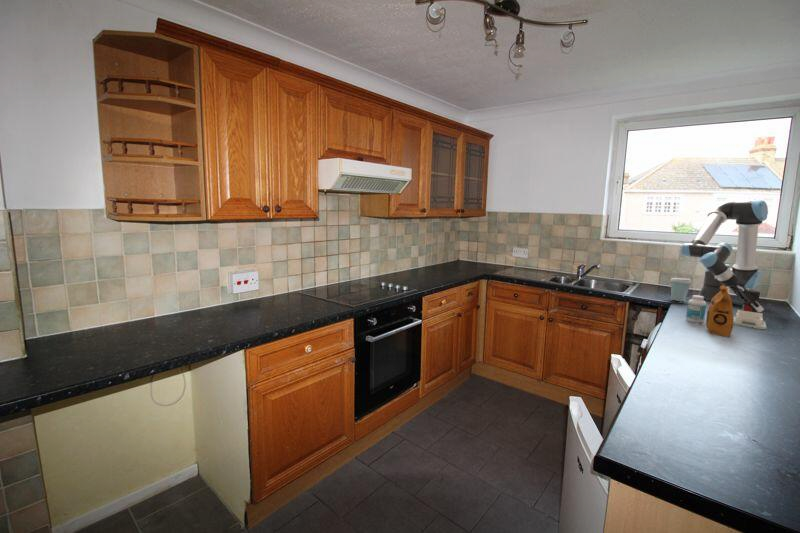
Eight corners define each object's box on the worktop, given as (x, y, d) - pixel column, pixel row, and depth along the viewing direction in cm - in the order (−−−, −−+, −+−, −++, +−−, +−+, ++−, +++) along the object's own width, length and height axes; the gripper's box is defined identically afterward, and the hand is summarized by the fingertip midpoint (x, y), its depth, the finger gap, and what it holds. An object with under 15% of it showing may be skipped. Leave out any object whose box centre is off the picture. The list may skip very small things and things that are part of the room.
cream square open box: (731, 318, 207) (733, 309, 206) (764, 323, 198) (766, 313, 198) (731, 323, 197) (732, 314, 196) (766, 329, 188) (767, 319, 187)
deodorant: (758, 320, 205) (763, 292, 202) (747, 319, 205) (751, 292, 203) (748, 316, 211) (753, 290, 208) (737, 316, 211) (742, 289, 208)
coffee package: (703, 333, 181) (711, 287, 177) (704, 327, 190) (711, 283, 187) (731, 338, 175) (739, 291, 171) (731, 331, 184) (738, 287, 181)
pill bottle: (697, 319, 203) (701, 294, 201) (707, 323, 196) (711, 298, 194) (682, 318, 204) (686, 294, 202) (691, 322, 197) (695, 297, 195)
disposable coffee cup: (663, 299, 246) (666, 276, 244) (676, 298, 249) (679, 276, 247) (680, 303, 236) (683, 280, 234) (692, 302, 239) (696, 279, 237)
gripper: (711, 278, 218) (741, 309, 216) (728, 284, 200) (761, 318, 198) (724, 269, 216) (754, 300, 214) (742, 275, 198) (776, 309, 196)
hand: (757, 309), depth 206 cm, fingers closed on deodorant, 6 cm apart
